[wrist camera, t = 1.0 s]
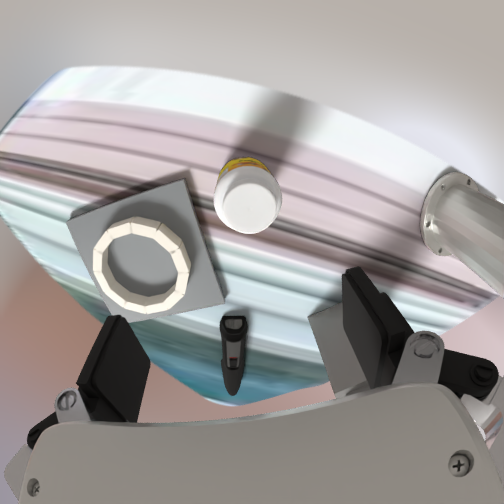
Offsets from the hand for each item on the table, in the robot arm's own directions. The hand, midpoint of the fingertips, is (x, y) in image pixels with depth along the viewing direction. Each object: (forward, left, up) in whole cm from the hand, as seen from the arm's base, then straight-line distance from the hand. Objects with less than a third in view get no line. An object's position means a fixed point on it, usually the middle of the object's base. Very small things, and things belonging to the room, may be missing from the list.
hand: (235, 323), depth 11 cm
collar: (+12, +5, -21) cm, 25 cm away
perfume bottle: (-10, +22, -21) cm, 32 cm away
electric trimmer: (+6, +23, -22) cm, 32 cm away
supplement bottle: (-2, -1, -21) cm, 21 cm away
